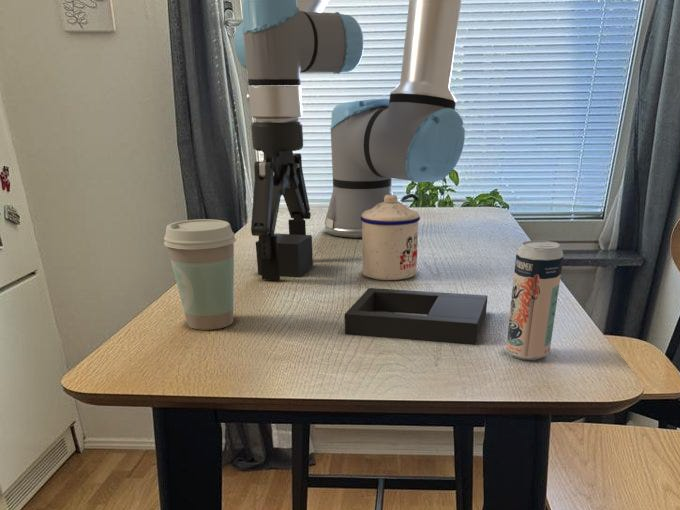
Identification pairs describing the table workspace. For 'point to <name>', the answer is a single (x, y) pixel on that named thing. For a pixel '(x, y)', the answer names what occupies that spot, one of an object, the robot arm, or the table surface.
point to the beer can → (534, 299)
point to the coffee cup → (203, 270)
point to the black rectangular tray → (439, 325)
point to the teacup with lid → (389, 240)
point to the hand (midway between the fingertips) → (285, 269)
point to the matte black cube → (292, 254)
